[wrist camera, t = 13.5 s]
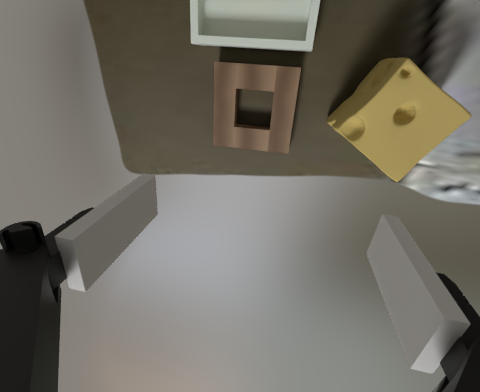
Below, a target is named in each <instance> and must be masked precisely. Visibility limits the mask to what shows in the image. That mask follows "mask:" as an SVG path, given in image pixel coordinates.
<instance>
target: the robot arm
mask: <svg viewBox="0 0 480 392" xmlns="http://www.w3.org/2000/svg"><path fill="white" fill-rule="evenodd" d="M157 214H158V212H157V196H156V180H155V175H150V174H144V173H143V174H142V175H141V176H139V177H138V178H136V179H135V180H133V181H132V182H131V183H129V184H128V185H126V186H125V187H124V188H122V189H121V190H119V191H118V192H117V193H115V194H114V195H112V196H111V197H109V198H108V199H107V200H105V201H104V202H102V203H101V204H100V205H98V206H97V207H95V208H89V209H87V210H84V211H81V212H80V213H78V214H77V215H75V216H74V217H73V218H72V219H69V220H68V221H66V223H63V224H62V225H61V226H59V227H58V228H56V229H55V230H53V231H52V232H51V233H49V234H47V235H46V236H44V233H43V230H42V227H41V224H40V223H38V222H34V221H26V222H19V223H15V224H12V225H9V226H7V227H5V228H4V229H2V230H1V231H0V243H1V245H2V247H3V249H1V250H0V392H58V368H59V340H60V312H61V288H60V284H61V283H62V282H63V281H64V280H65V279H66V278H67V281H68V285H69V288H71V289H75V290H79V291H84V292H86V291H87V290H88V289H89V288H90V287H91V285H92V284H93V283H94V282H95V281H96V280H97V279H98V278H99V277H100V276H101V275H102V274H103V272H104V271H105V270H106V269H107V268H108V267H109V266H110V265H111V264H112V263H113V262H114V261H115V260H116V259H117V258H118V256H119V255H120V254H121V253H122V252H123V251H124V250H125V249H126V248H127V247H128V246H129V244H131V242H132V241H133V240H134V239H135V238H136V237H137V236H138V235H139V234H140V233H141V232H142V231H143V229H144V228H145V227H146V226H147V225H148V224H149V223H150V222H151V221H152V220H153V219H154V218H155V217H156V215H157ZM367 256H368V259H369V262H370V264H371V267H372V270H373V272H374V275H375V278H376V280H377V283H378V286H379V288H380V291H381V293H382V296H383V299H384V301H385V304H386V306H387V309H388V312H389V314H390V317H391V320H392V322H393V325H394V327H395V330H396V333H397V335H398V338H399V341H400V343H401V346H402V348H403V351H404V354H405V356H406V358H407V362H408V364H409V367H410V369H414V370H418V371H423V372H427V373H431V374H433V373H434V371H435V370H436V369H437V367H438V366H439V365H440V364H441V366H442V368H443V370H444V372H445V374H446V376H445V377H444V378H443V380H442V381H441V382H440V383H439V384H438V386H437V387H436V388H435V389H434V391H433V392H480V317H479V315H478V314H477V313H476V311H475V310H474V309H473V307H472V306H471V305H470V304H469V302H468V300H467V299H466V298H465V296H463V294H462V292H461V291H460V290H459V288H458V287H457V285H456V284H455V283H454V282H452V281H451V280H450V279H449V278H448V277H447V276H445V275H444V274H441V273H436V272H435V271H434V269H433V268H432V266H431V265H430V263H429V262H428V260H427V259H426V258H425V256H424V255H423V253H422V252H421V250H420V249H419V247H418V246H417V244H416V243H415V242H414V240H413V239H412V237H411V236H410V234H409V233H408V231H407V230H406V228H405V227H404V225H403V224H402V223H401V221H400V220H399V218H398V217H397V216H391V215H386V214H382V216H381V219H380V221H379V224H378V226H377V229H376V231H375V234H374V236H373V238H372V241H371V243H370V246H369V248H368V251H367Z"/></svg>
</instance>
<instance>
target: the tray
mask: <svg viewBox="0 0 480 392" xmlns="http://www.w3.org/2000/svg"><path fill="white" fill-rule="evenodd" d="M319 5H320V0H190V17H191V44H196V45H205V46H221V47H238V48H255V49H271V50H288V51H305V52H311V51H312V48H313V42H314V35H315V29H316V23H317V17H318V11H319Z"/></svg>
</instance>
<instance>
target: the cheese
mask: <svg viewBox="0 0 480 392" xmlns="http://www.w3.org/2000/svg"><path fill="white" fill-rule="evenodd" d="M470 117H471V114H470V113H469V112H468V111H467V110H466V109H465V108H464V107H463V106H462V105H461V104H460V103H458V102H457V101H456V100H455V99H453V98H452V97H451V96H449V95H448V94H447V93H446V92H444V91H443V90H442V89H441V88H439V87H438V86H437V85H436V84H435V83H434V82H433V81H431V80H430V79H429V78H428V77H427V76H426V75H425V74H424V73H423V72H422V71H421V70H420V69H419V67H418V66H417V65H416V64H415V63H414V62H413V61H412V60H411V59H409V58H403V57H402V58H387V59H384V60H381V61H379V62H378V63H377V64H376V66H375V67H374V68H373V69H372V70H371V71H370V72H369V74H368V75H367V76H366V77H365V78H364V79H363V81H362V82H361V83H360V84H359V85H358V87H357V89H356V90H355V92H354V93H353V94H352V95H351V96H350V97H349V98H348V99H347V100H345V101H344V102H343V103H342V104H341V105H340V106H339V107H338V108H337V109H336V110H335V111H334V112H333V113H332V114H331V115H330V116H329V117H328V118H327V123H328V124H329V125H331V126H332V127H333V128H334V129H335V130H336V131H337V132H338V133H339V134H341V135H342V136H343V137H345V138H346V139H347V140H348V141H349V142H351V143H352V144H353V145H354V146H355V147H356V148H357V149H358V150H360V151H361V152H362V153H363V154H364V155H365V156H367V157H368V158H369V159H370V160H371V161H372V162H373V163H375V164H376V165H377V166H378V167H379V168H380V169H381V170H382V171H383V172H384V173H385V174H387V175H388V176H389V177H390V178H392V179H393V180H394V181H396V182H398V181H400V180H401V179H402V178H403V177H404V176H405V175H406V174H407V173H408V172H409V171H410V170H411V169H412V168H413V167H414V166H415V165H416V164H417V163H418V162H419V161H420V160H421V159H422V158H423V157H424V156H425V155H427V154H428V153H429V152H430V151H431V150H432V149H433V148H435V147H436V146H437V145H438V144H439V143H440V142H442V141H443V140H444V139H445V138H446V137H447V136H449V135H450V134H451V133H452V132H453V131H455V130H456V129H457V128H458V127H459V126H461V125H462V124H463V123H464V122H466V121H467V120H468V119H469V118H470Z"/></svg>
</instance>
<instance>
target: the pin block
mask: <svg viewBox="0 0 480 392" xmlns="http://www.w3.org/2000/svg"><path fill="white" fill-rule="evenodd" d="M300 72H301V67H287V66H272V65H258V64H243V63H228V62H214V137H213V145H216V146H225V147H234V148H243V149H252V150H261V151H270V152H279V153H288V152H289V145H290V138H291V132H292V125H293V118H294V112H295V105H296V98H297V92H298V85H299V79H300ZM239 89H249V90H261V91H273V92H274V96H273V105H272V114H271V123H270V127H266V126H256V125H246V124H237V116H238V98H239Z"/></svg>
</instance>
